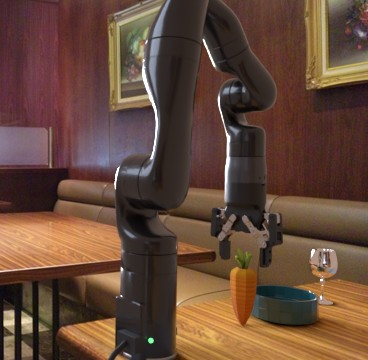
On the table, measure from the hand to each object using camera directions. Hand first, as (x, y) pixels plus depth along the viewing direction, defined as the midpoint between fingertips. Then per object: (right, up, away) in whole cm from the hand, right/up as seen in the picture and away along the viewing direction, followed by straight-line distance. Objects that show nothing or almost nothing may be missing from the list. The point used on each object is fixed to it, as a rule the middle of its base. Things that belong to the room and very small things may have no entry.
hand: (244, 263), depth 96 cm
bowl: (+10, -12, +6) cm, 17 cm away
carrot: (0, -13, 0) cm, 13 cm away
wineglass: (+25, -12, +17) cm, 32 cm away
